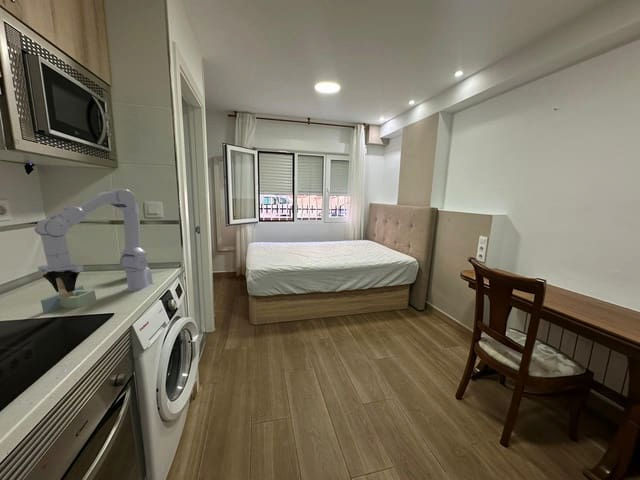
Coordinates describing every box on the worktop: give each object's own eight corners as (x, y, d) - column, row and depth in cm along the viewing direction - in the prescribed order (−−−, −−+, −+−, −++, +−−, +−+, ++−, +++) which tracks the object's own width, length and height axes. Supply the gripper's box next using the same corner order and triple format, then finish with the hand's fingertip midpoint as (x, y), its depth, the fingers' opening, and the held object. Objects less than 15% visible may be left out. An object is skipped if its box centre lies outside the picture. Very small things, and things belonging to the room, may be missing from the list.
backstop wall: (81, 297, 105) (79, 285, 104) (85, 297, 105) (83, 285, 104) (43, 313, 92) (40, 300, 91) (47, 313, 92) (44, 300, 91)
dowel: (67, 294, 92) (63, 275, 91) (76, 294, 92) (72, 275, 90) (57, 298, 89) (52, 279, 88) (66, 298, 89) (61, 279, 87)
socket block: (79, 299, 103) (77, 290, 102) (96, 299, 102) (94, 290, 102) (60, 307, 96) (58, 297, 95) (78, 307, 95) (76, 297, 95)
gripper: (23, 256, 84) (33, 295, 87) (64, 256, 83) (73, 295, 86) (47, 251, 91) (56, 287, 93) (85, 251, 90) (93, 287, 93)
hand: (65, 291), depth 90 cm, fingers closed on dowel, 3 cm apart
